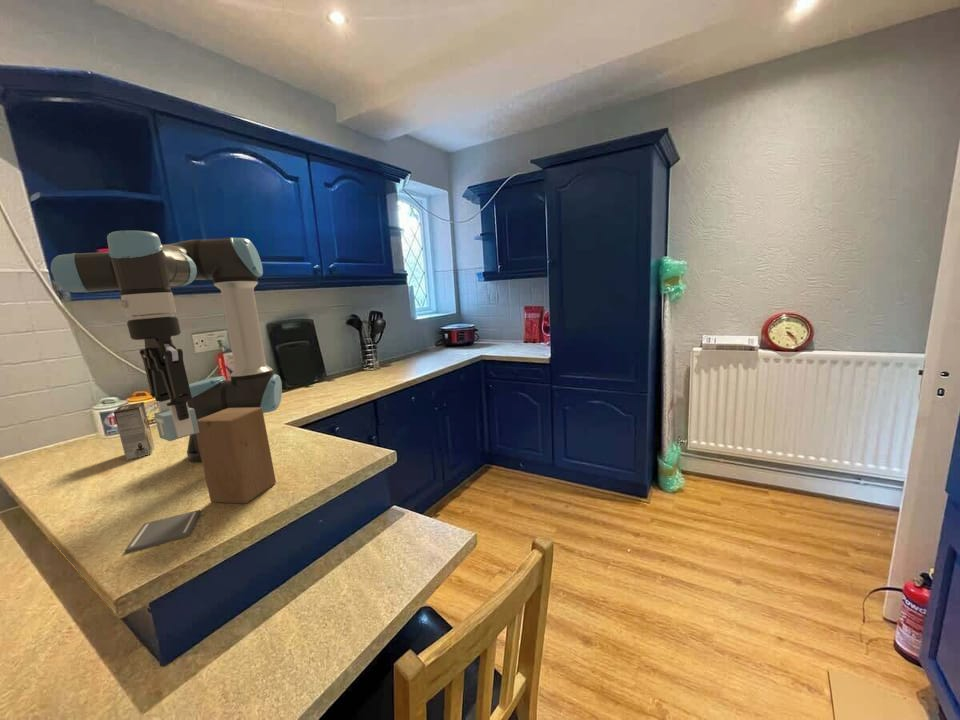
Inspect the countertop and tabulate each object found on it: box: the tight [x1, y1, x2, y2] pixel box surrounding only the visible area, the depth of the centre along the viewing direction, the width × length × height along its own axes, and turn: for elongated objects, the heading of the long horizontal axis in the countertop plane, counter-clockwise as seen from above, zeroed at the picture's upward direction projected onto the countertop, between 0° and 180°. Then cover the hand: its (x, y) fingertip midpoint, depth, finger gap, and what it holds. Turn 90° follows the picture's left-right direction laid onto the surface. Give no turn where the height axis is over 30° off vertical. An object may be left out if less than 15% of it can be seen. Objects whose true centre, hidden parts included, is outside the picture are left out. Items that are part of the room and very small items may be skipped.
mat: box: [124, 509, 202, 554], centre depth 81 cm, size 10×10×1 cm
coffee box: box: [113, 401, 155, 461], centre depth 127 cm, size 9×6×16 cm
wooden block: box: [196, 407, 277, 504], centre depth 93 cm, size 10×10×20 cm
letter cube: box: [153, 408, 199, 442], centre depth 78 cm, size 5×5×5 cm
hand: (179, 432), depth 79 cm, fingers closed on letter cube, 5 cm apart
